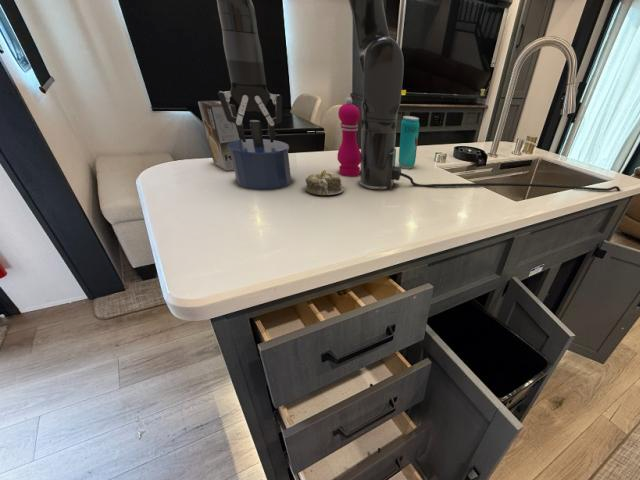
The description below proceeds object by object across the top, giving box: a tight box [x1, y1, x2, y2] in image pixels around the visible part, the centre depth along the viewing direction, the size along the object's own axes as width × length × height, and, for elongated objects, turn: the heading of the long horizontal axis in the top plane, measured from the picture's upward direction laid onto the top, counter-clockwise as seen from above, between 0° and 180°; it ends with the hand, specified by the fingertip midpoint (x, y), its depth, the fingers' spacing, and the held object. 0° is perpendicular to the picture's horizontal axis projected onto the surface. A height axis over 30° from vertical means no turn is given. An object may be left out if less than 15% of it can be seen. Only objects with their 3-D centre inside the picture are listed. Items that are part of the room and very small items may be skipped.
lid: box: [227, 119, 290, 155], centre depth 80 cm, size 15×15×7 cm
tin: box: [230, 150, 292, 191], centre depth 84 cm, size 14×14×8 cm
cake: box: [305, 169, 345, 196], centre depth 84 cm, size 10×10×5 cm
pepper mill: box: [336, 96, 361, 177], centre depth 93 cm, size 7×7×20 cm
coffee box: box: [197, 100, 240, 172], centre depth 90 cm, size 9×6×16 cm
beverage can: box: [398, 115, 420, 170], centre depth 106 cm, size 6×6×15 cm
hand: (258, 141), depth 81 cm, fingers open, 6 cm apart
